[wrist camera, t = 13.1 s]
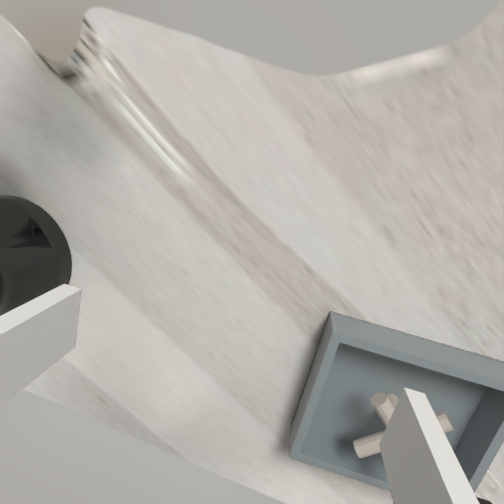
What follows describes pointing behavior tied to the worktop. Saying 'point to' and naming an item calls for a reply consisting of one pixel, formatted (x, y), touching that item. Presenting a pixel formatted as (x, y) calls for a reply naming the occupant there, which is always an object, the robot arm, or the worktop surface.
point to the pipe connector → (385, 410)
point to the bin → (393, 382)
